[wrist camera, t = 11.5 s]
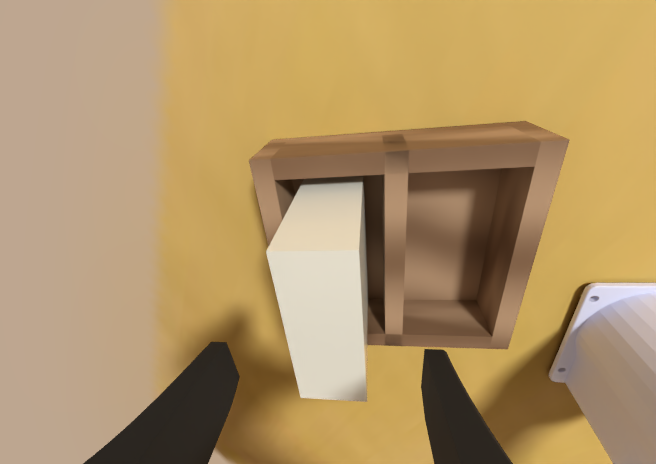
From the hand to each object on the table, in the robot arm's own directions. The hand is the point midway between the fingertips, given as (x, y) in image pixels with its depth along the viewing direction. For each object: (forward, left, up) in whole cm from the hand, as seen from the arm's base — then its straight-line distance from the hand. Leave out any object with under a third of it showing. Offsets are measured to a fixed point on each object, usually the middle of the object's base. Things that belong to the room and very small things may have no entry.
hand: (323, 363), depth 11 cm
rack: (0, -3, -10) cm, 10 cm away
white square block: (0, 0, -9) cm, 9 cm away
